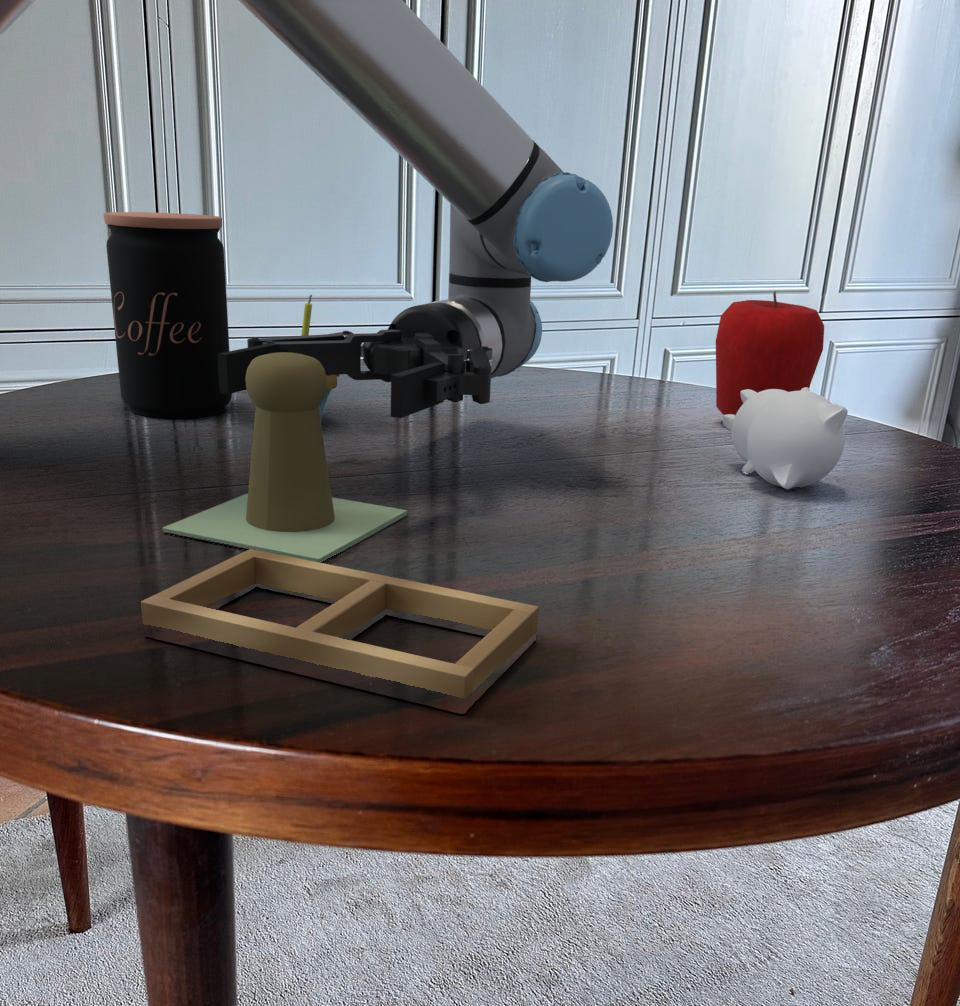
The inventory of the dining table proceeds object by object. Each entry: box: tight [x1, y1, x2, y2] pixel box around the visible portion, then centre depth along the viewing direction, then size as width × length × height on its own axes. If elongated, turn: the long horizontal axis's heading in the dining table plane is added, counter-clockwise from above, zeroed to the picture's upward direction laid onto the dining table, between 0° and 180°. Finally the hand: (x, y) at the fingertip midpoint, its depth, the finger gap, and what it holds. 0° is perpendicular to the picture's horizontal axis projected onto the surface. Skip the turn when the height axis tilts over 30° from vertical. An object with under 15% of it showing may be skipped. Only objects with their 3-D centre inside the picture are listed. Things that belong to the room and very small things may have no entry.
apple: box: [715, 291, 825, 416], centre depth 105 cm, size 11×10×14 cm
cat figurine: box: [722, 387, 849, 490], centre depth 86 cm, size 9×11×12 cm
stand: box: [140, 549, 540, 698], centre depth 53 cm, size 18×10×2 cm, turn 67°
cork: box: [245, 352, 335, 532], centre depth 68 cm, size 6×6×11 cm
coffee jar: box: [103, 211, 233, 419], centre depth 99 cm, size 11×11×18 cm
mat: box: [161, 492, 408, 563], centre depth 70 cm, size 12×12×1 cm
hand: (306, 385), depth 69 cm, fingers open, 13 cm apart
